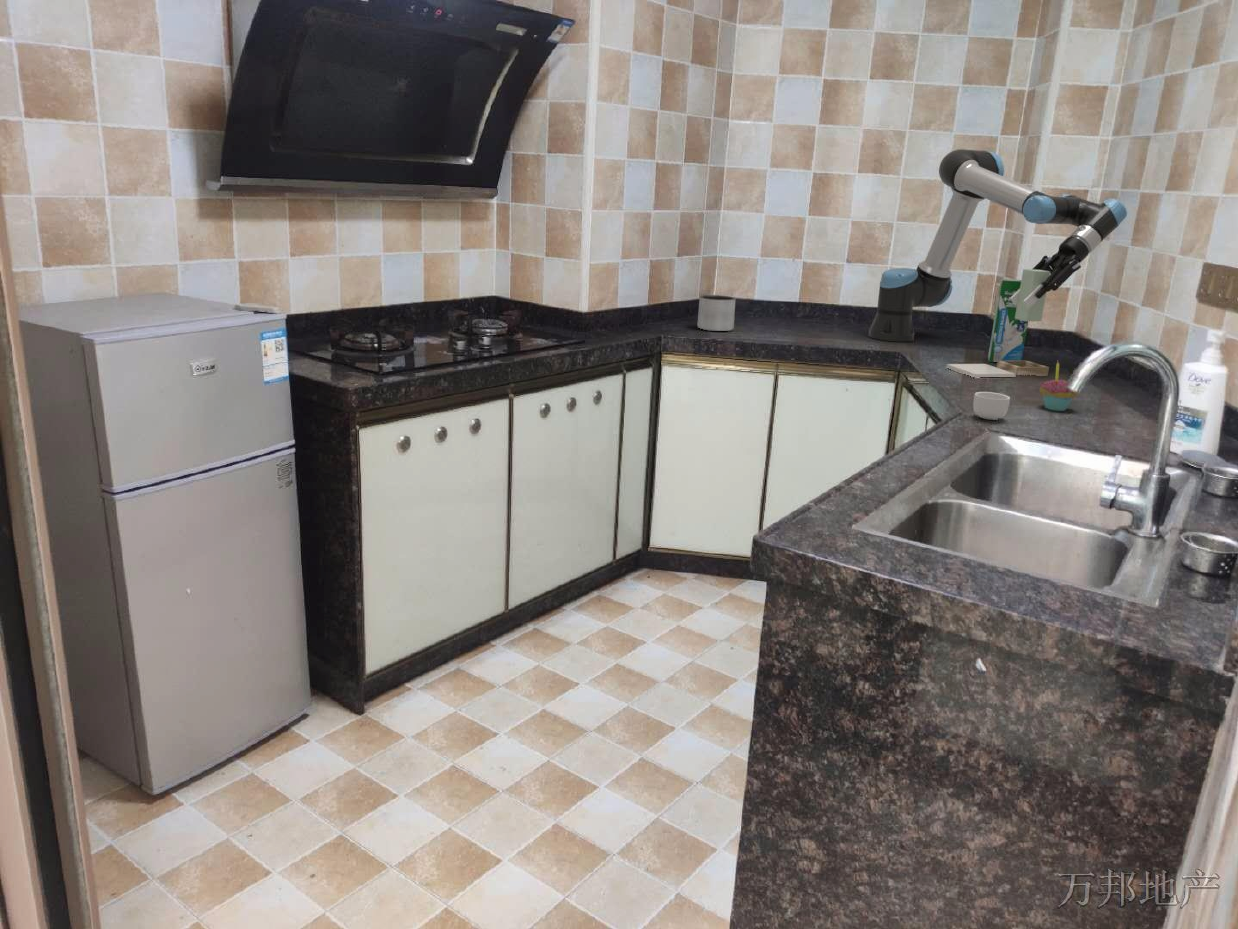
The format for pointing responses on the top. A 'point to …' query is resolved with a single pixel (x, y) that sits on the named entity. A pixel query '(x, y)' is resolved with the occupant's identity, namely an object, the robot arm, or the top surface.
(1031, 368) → the holder
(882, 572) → the top surface
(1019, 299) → the post
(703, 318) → the planter
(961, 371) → the trivet
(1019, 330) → the milk carton
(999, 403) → the teacup
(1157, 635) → the top surface
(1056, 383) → the cupcake
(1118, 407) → the top surface
